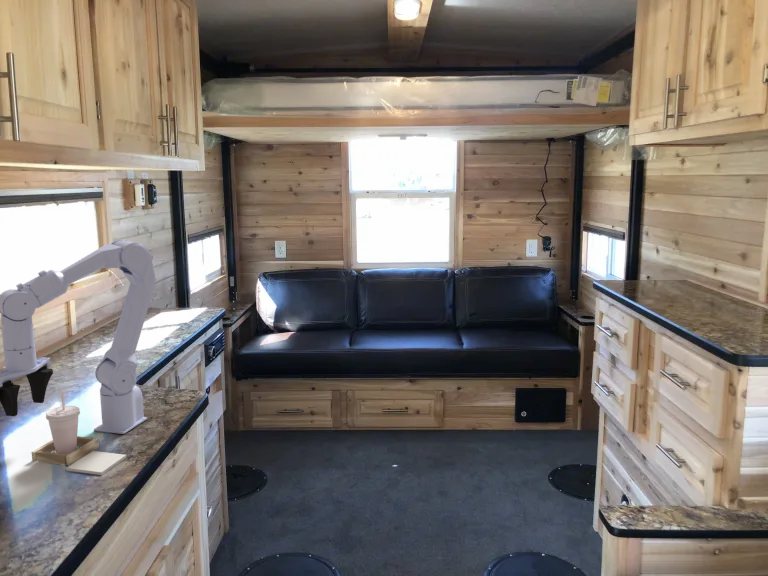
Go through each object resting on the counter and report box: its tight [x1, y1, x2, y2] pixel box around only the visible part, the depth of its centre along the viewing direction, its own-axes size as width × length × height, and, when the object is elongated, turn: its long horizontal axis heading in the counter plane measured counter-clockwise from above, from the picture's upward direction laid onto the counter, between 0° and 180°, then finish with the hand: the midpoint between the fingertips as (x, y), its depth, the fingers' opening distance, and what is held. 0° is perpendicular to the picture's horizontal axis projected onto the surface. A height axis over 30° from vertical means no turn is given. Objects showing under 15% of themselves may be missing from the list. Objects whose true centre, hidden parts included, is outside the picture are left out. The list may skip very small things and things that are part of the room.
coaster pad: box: [66, 450, 127, 476], centre depth 127 cm, size 8×8×1 cm
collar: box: [31, 435, 100, 467], centre depth 131 cm, size 9×9×2 cm
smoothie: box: [45, 389, 81, 455], centre depth 130 cm, size 6×6×14 cm
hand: (25, 408), depth 131 cm, fingers open, 7 cm apart
